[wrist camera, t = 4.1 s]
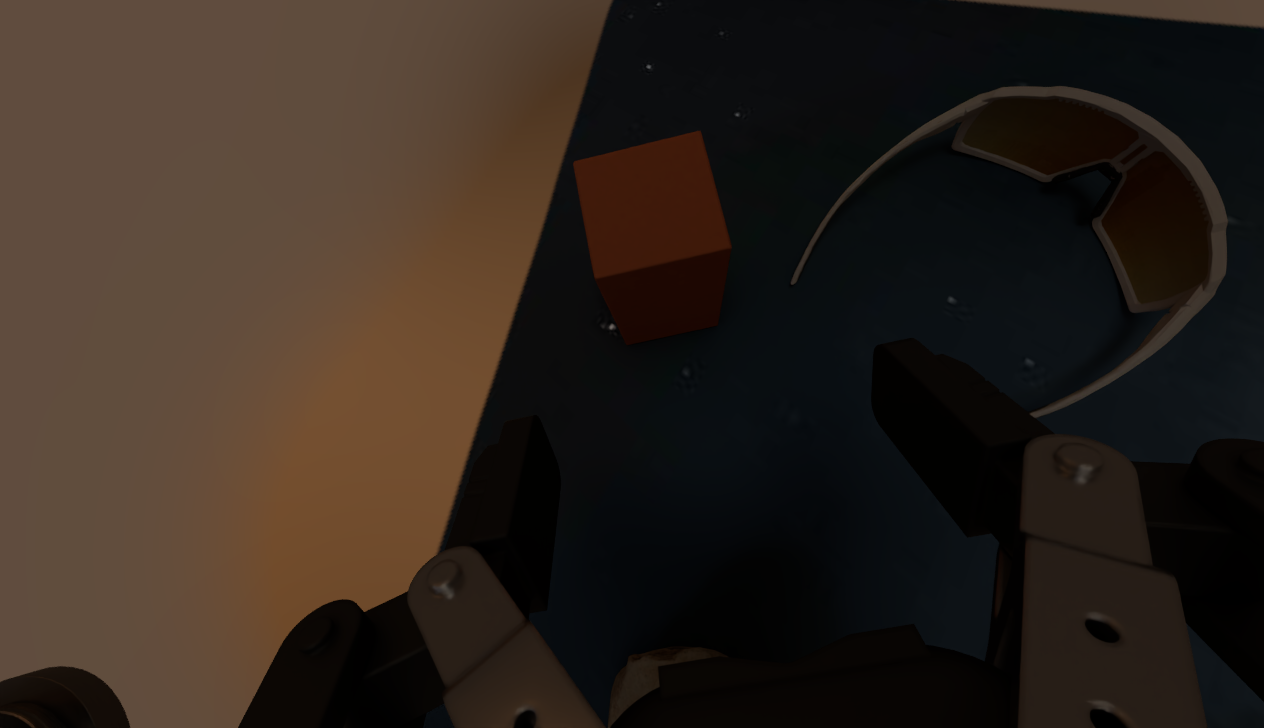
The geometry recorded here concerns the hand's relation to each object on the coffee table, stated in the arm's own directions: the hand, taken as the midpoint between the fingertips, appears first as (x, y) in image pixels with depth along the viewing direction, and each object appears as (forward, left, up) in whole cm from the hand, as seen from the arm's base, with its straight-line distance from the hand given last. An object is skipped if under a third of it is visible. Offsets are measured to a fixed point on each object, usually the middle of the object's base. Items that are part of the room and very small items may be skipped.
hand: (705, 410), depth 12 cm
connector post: (+4, +7, -13) cm, 16 cm away
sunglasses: (+16, -3, -13) cm, 21 cm away
